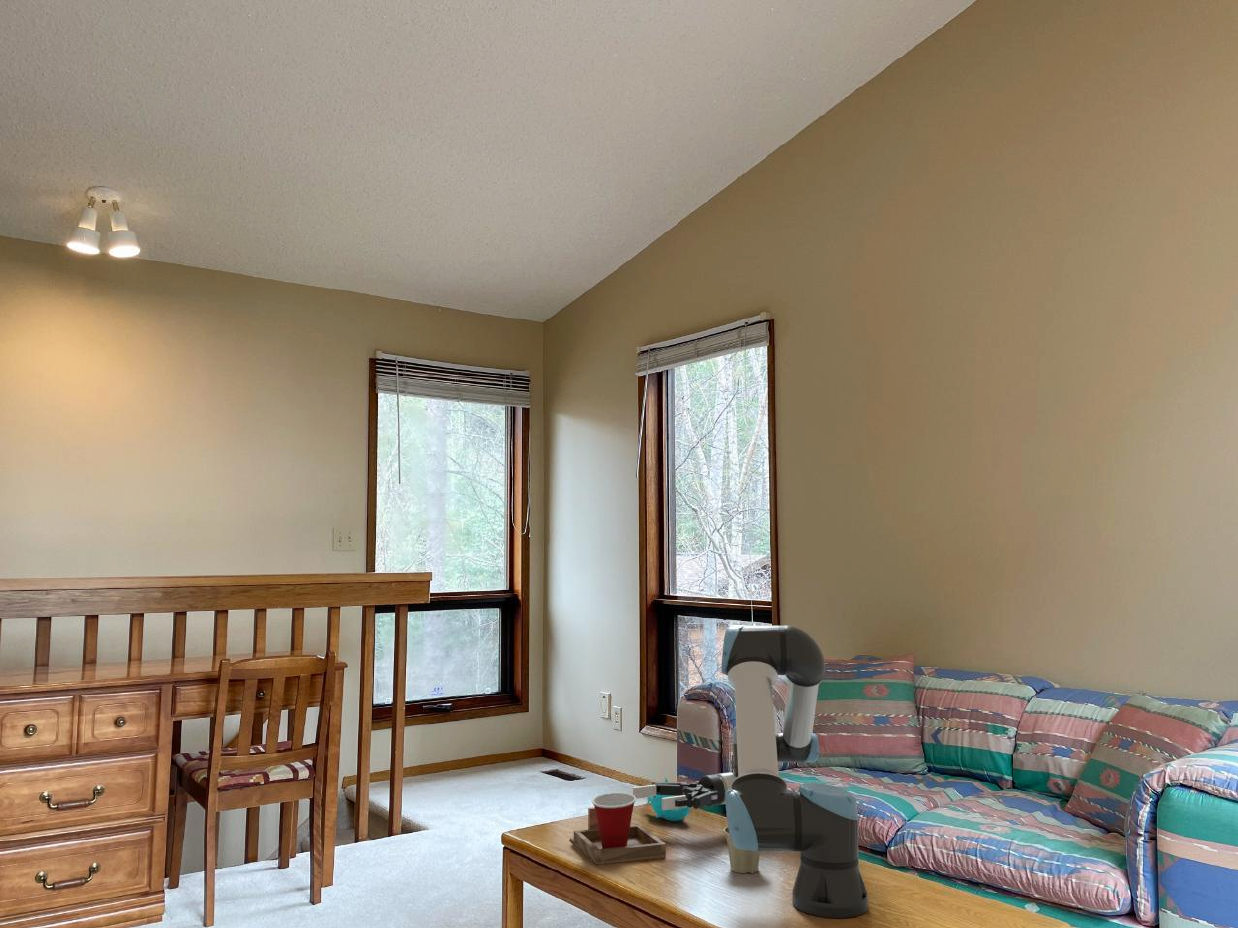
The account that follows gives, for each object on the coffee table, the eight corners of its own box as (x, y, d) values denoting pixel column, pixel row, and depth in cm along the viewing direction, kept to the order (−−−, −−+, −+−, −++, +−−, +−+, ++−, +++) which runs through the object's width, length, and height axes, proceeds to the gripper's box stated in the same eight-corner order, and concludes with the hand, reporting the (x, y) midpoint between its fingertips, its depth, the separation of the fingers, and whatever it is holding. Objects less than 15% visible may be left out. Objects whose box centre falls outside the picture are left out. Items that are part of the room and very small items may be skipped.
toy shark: (673, 828, 251) (673, 786, 252) (631, 813, 265) (631, 773, 266) (701, 822, 256) (701, 781, 258) (658, 808, 271) (658, 769, 272)
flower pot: (764, 877, 212) (763, 837, 213) (721, 874, 214) (721, 834, 215) (766, 864, 221) (766, 825, 222) (725, 861, 223) (725, 823, 224)
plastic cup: (581, 848, 231) (582, 797, 232) (613, 839, 239) (613, 789, 240) (614, 858, 223) (614, 805, 225) (645, 848, 231) (645, 797, 232)
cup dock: (665, 856, 226) (665, 824, 227) (596, 864, 221) (596, 830, 221) (634, 833, 246) (634, 803, 247) (569, 839, 240) (569, 808, 241)
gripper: (747, 814, 236) (675, 825, 226) (690, 794, 258) (622, 803, 247) (747, 783, 237) (675, 792, 227) (690, 765, 259) (622, 773, 248)
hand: (647, 798), depth 237 cm, fingers open, 13 cm apart
